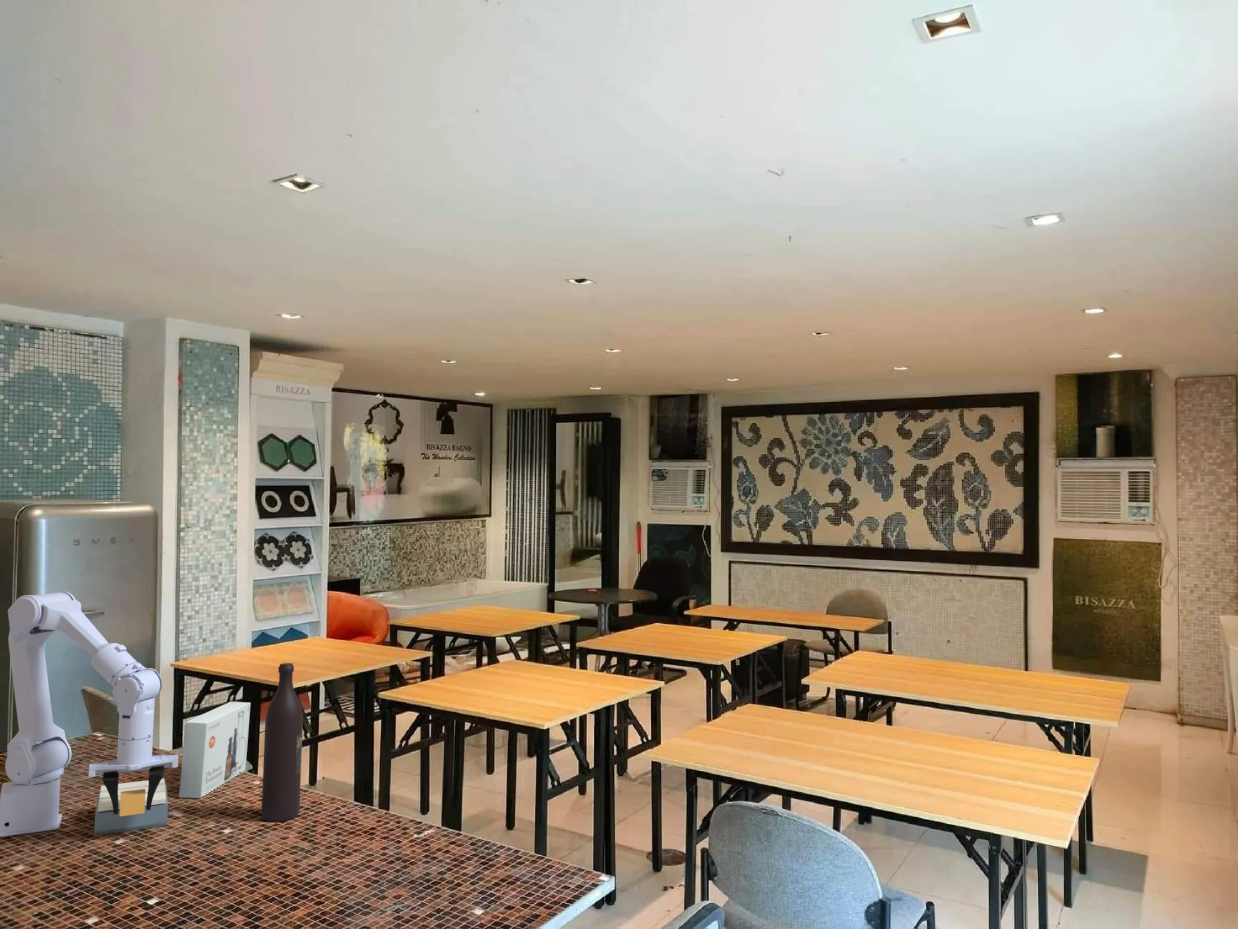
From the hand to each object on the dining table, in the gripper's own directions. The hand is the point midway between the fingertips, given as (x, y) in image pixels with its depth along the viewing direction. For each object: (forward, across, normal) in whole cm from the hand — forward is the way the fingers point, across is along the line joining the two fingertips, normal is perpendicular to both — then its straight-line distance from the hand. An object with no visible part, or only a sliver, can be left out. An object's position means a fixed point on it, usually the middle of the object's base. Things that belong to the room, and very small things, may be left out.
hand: (132, 810), depth 161 cm
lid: (0, 0, +8) cm, 8 cm away
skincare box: (+5, +16, +27) cm, 32 cm away
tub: (+5, 0, +10) cm, 11 cm away
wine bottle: (+5, +26, -1) cm, 26 cm away
